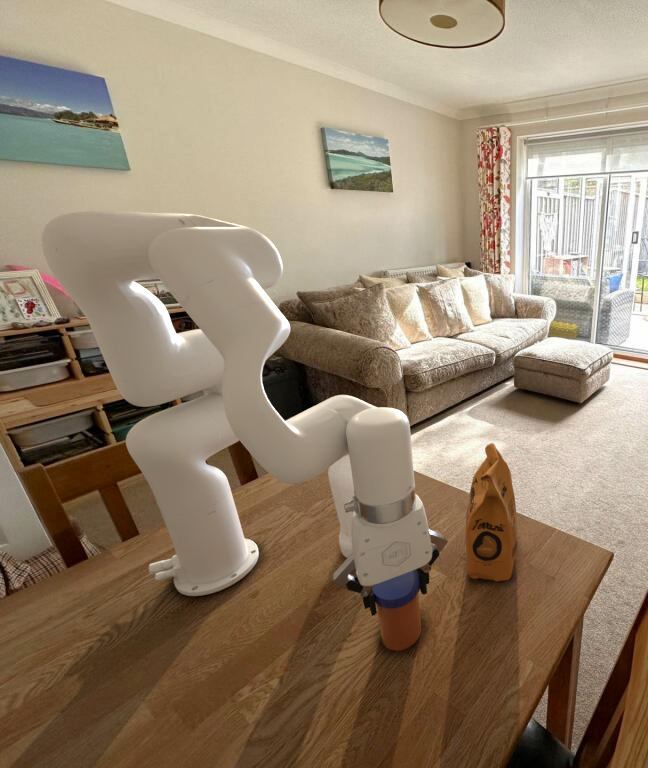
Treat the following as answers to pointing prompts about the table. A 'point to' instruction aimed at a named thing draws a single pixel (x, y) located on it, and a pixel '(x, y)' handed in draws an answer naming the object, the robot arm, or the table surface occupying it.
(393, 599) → the lid
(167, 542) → the table surface
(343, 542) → the bottle
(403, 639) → the jar
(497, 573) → the coffee package
